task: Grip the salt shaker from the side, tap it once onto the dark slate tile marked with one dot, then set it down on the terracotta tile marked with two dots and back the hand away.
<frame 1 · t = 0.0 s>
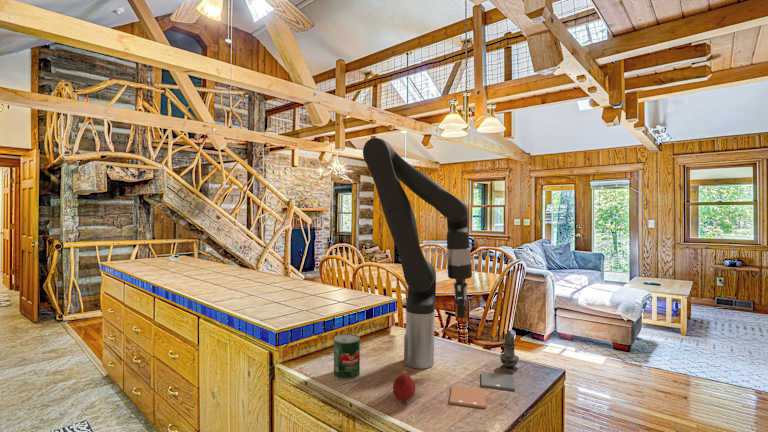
hand: (462, 313, 121), 17 cm above the table, tool pointing down, fingers open, 8 cm apart
tile one: (497, 381, 111), on the table
salt shaker: (508, 368, 121), on the table
onion: (403, 403, 99), on the table
canned tomato: (346, 374, 116), on the table
tile two: (467, 397, 102), on the table
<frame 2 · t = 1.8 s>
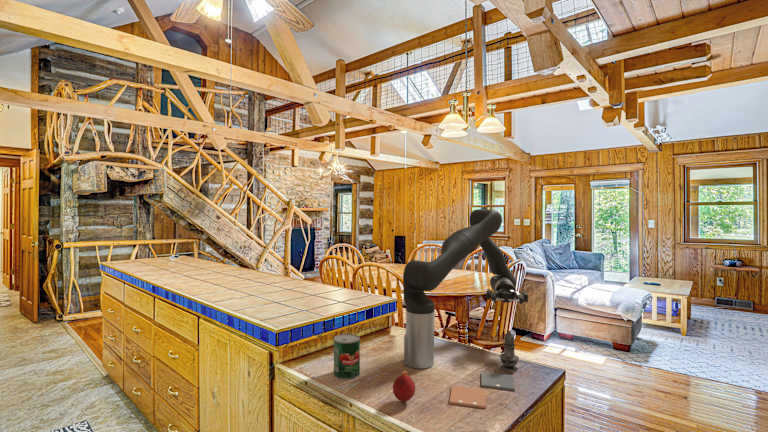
hand: (507, 300, 132), 19 cm above the table, tool horizontal, fingers open, 8 cm apart
nothing on the table moved.
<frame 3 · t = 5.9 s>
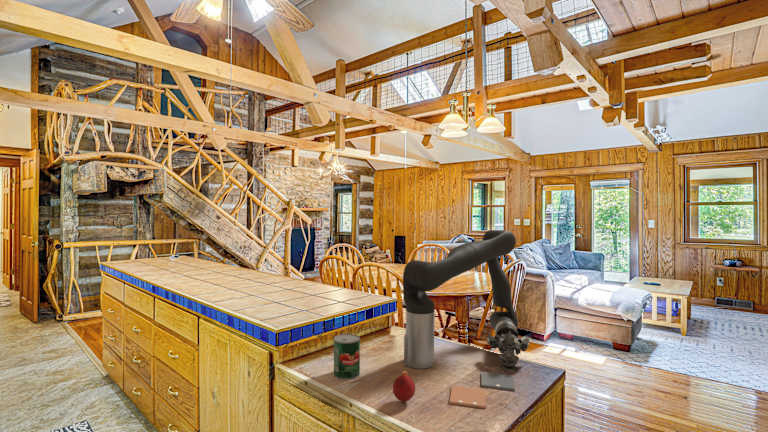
hand: (510, 350, 118), 6 cm above the table, tool horizontal, fingers closed on salt shaker, 3 cm apart
salt shaker: (508, 368, 121), on the table, touching gripper
everything else where it was.
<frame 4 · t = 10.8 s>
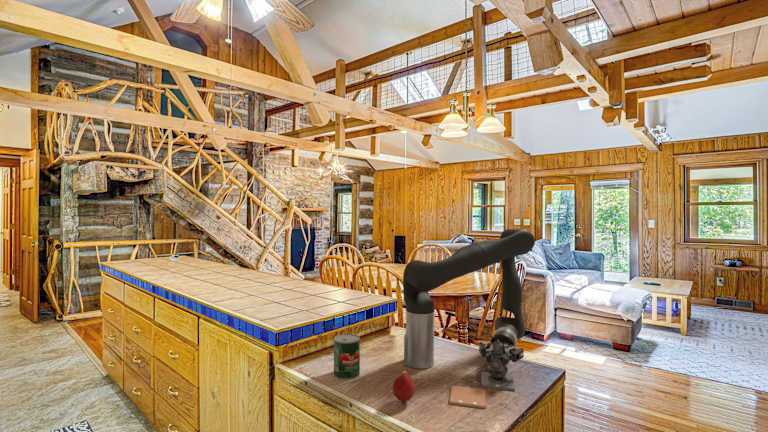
hand: (496, 360, 109), 7 cm above the table, tool horizontal, fingers closed on salt shaker, 3 cm apart
salt shaker: (497, 380, 112), resting on tile one, touching gripper
everything else where it was.
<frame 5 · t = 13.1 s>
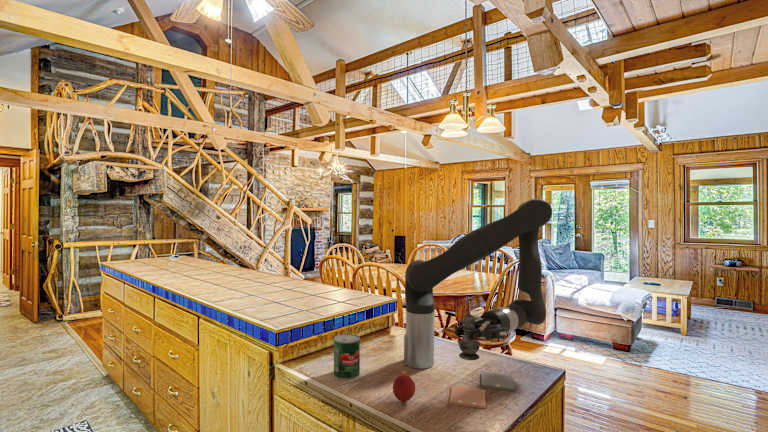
hand: (462, 334, 100), 18 cm above the table, tool horizontal, fingers closed on salt shaker, 3 cm apart
salt shaker: (469, 357, 102), point 11 cm above the table, touching gripper
everything else where it was.
when the fingers open (8 cm above the table, at t = 15.2 s): salt shaker stays where it is, resting on tile two.
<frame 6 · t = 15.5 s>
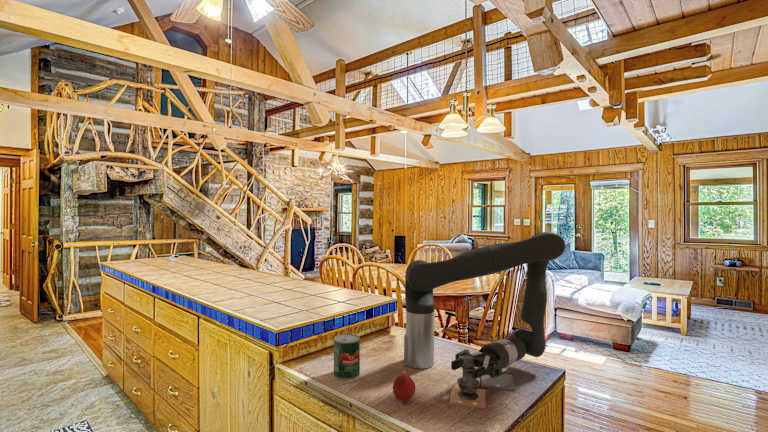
hand: (462, 370, 100), 8 cm above the table, tool horizontal, fingers open, 6 cm apart
salt shaker: (468, 395, 102), resting on tile two
everything else where it was.
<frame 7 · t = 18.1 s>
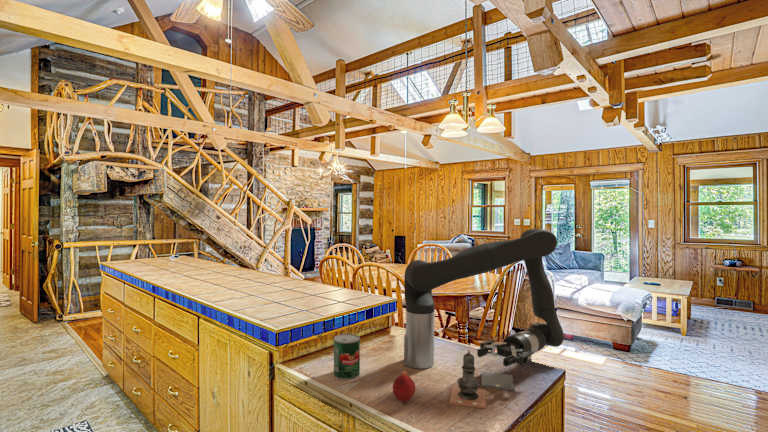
hand: (491, 358, 109), 8 cm above the table, tool horizontal, fingers open, 8 cm apart
nothing on the table moved.
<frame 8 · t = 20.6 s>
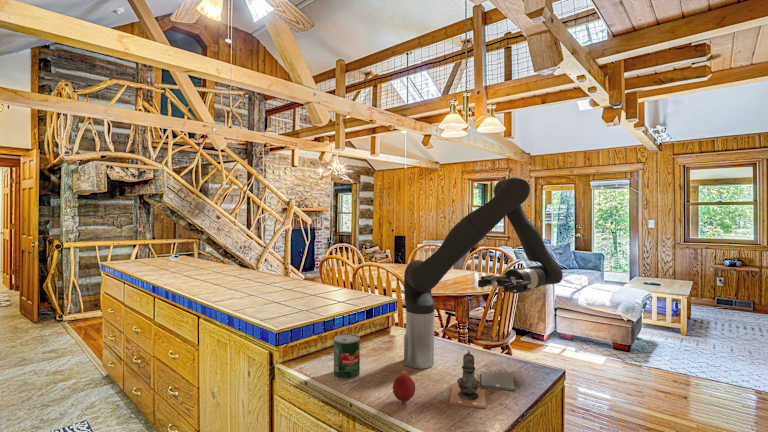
hand: (491, 286, 111), 28 cm above the table, tool horizontal, fingers open, 8 cm apart
nothing on the table moved.
at the end: salt shaker 0.1 cm off-centre on the tile two, point 0.4 cm above the tile two's base; salt shaker tilted 0°; the gripper is holding nothing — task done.
